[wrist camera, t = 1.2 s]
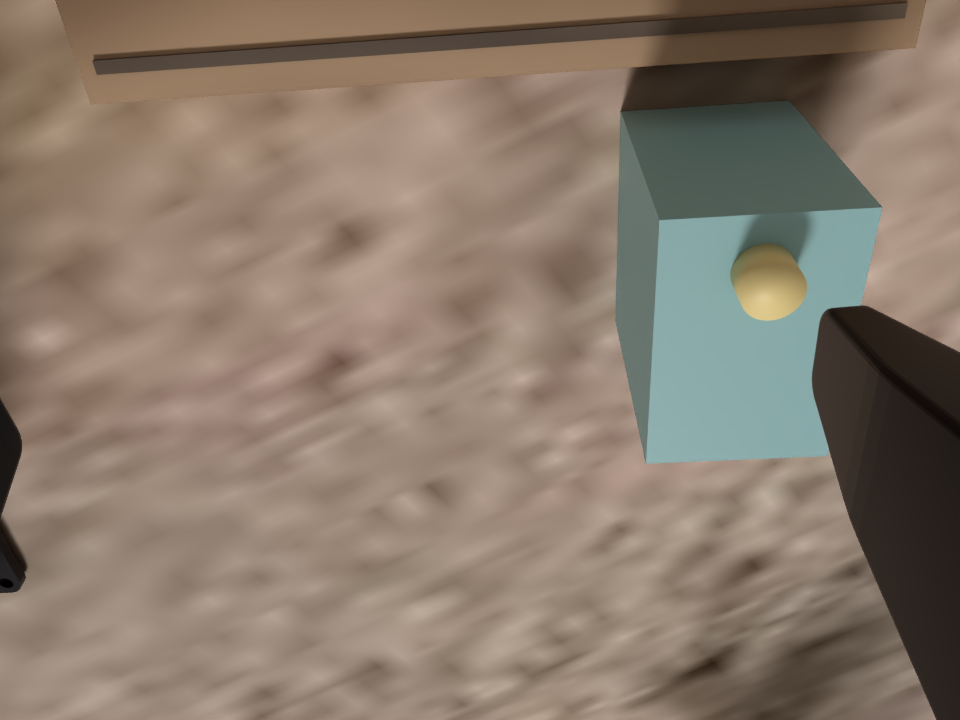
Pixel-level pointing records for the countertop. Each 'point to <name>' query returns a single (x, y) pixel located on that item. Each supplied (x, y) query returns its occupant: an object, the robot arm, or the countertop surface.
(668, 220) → the teal box with knob
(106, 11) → the board
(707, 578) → the countertop surface
